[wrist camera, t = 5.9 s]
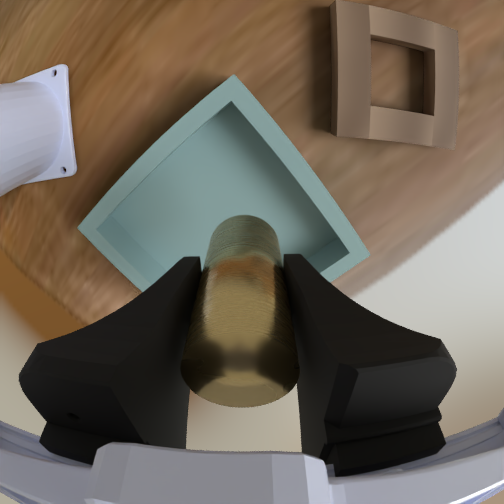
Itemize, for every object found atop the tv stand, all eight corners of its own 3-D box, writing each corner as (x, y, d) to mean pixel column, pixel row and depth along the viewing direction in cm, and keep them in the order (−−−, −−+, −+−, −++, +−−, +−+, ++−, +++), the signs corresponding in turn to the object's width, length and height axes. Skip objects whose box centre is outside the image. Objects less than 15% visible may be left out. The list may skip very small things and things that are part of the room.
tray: (217, 326, 25) (213, 352, 22) (96, 210, 20) (77, 227, 17) (356, 234, 21) (370, 255, 18) (236, 78, 16) (234, 74, 13)
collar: (330, 133, 18) (336, 136, 16) (329, 6, 14) (335, -1, 12) (443, 145, 18) (454, 150, 16) (445, 33, 14) (457, 30, 12)
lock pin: (210, 275, 14) (187, 404, 8) (208, 214, 13) (173, 329, 7) (276, 277, 14) (291, 407, 8) (281, 216, 13) (308, 333, 7)
